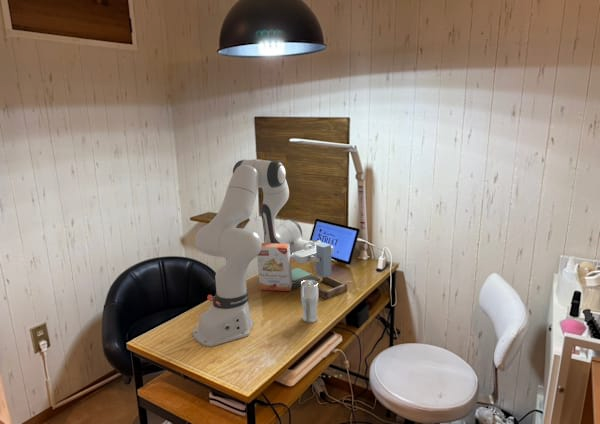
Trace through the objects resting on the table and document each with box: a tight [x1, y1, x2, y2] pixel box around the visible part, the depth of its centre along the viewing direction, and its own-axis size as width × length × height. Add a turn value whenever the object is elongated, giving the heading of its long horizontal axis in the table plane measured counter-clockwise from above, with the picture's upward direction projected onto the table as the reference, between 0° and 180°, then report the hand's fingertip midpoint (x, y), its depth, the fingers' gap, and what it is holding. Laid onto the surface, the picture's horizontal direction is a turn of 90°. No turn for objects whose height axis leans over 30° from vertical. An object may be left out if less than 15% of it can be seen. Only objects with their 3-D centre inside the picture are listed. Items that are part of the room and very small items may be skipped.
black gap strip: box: [290, 275, 320, 290], centre depth 192 cm, size 16×5×1 cm, turn 129°
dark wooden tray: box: [318, 276, 348, 300], centre depth 185 cm, size 12×15×3 cm
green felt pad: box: [291, 267, 313, 283], centre depth 201 cm, size 11×11×1 cm
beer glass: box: [299, 280, 320, 323], centre depth 158 cm, size 7×7×15 cm
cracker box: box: [256, 242, 293, 292], centre depth 184 cm, size 14×6×21 cm, turn 80°
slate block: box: [316, 242, 333, 278], centre depth 182 cm, size 5×5×14 cm
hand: (325, 258), depth 181 cm, fingers closed on slate block, 5 cm apart
